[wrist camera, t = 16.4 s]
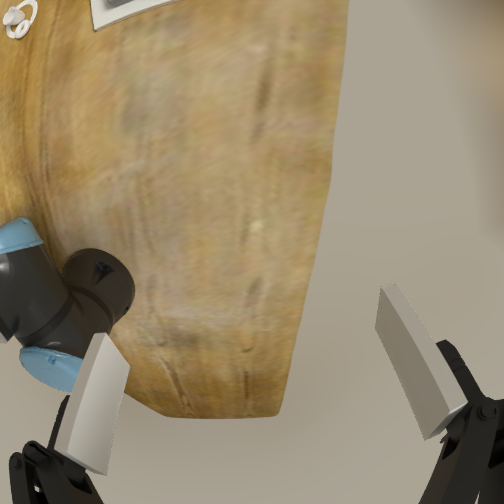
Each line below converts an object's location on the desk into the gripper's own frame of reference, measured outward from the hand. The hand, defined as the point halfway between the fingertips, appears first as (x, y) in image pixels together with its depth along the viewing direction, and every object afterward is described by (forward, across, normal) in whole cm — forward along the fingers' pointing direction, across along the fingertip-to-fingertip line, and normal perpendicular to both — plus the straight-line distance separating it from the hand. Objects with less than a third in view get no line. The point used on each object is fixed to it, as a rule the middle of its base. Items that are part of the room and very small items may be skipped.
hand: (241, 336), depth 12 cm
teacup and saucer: (+32, -33, +38) cm, 60 cm away
